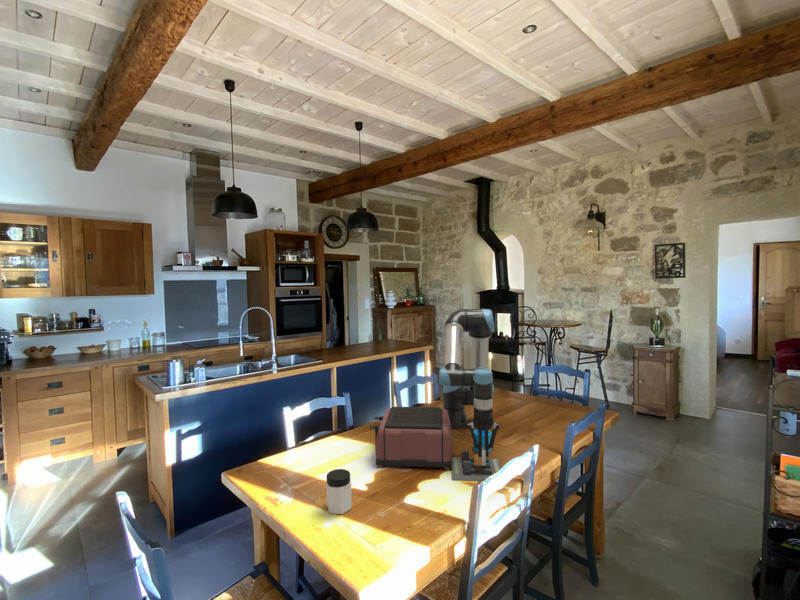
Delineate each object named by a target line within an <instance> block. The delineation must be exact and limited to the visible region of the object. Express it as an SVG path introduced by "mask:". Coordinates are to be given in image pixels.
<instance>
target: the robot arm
mask: <svg viewBox="0 0 800 600" xmlns="http://www.w3.org/2000/svg"><path fill="white" fill-rule="evenodd" d="M494 321H495V320H494V316H493V311H492V310H491V309H488V308H472V309H471V308H463V309H462V308H461V309H460V308H459V309H457V310H455V311H454V312H453V313H451V314H450V315H449V316H448V317H447V319H446V321H445V323H444V326H443V329H444V330H443V332H444V334H445V343H444V344H445V347H444V348H445V349H444V365H443V366H444V367H442V368H439V371H438V379H439V380H438V381H439V385H440V386H443V387H442V388H443V390H442V395H443V396H442V397H443V398H442V399H443V400H442V401H443V402H442V405H443V406H442V407H443V408H442V409H446V410H447V411H448V415H449V419H450V426H451V429H462V428H463V429H464V428H466V427H467V428H468V430H470V431H469V432H470V435H471V439H472V441H473V442H472V444H473V443H474V447H475V448H478V449H479V453H478V455H479V457H482V466H486V458H489V452H488V450H489V449H490V448H491V449H493V448H494V443H495V439H496V435H497V432H498V431H499V429H500V425H499V423H496V422H495V421H494V419H493V417H494V416H493V414H494V413H493V411H494V410H493V406H494V405H493V399H494V390H495V388H494V384H493V381H494V377H493V372H492V370H490V369H489V344H490V343H489V339H490V338H491V337H492V334H493V333H495V331H496V330H495V329H496V328H495V322H494ZM464 332H465V333H468V336H469V337H470V339H471V368H462V336H463V334H464ZM465 406H468V407H469V406H472V407H473V419H472V421H471V422H469V419H468V415H467V412H466V407H465ZM474 427H475V428H476V429H478V444H477V442H476V439H475V435H474ZM491 428H492V431H491V433H492V435H491V439H490V443H489V444H488V430H489V431H490V429H491ZM483 430H484V431H485V447H482V431H483Z"/></svg>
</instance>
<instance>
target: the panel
mask: <svg viewBox="0 0 800 600" xmlns="http://www.w3.org/2000/svg"><path fill="white" fill-rule="evenodd" d="M469 461H471V473H464V472H463V462H462V456H459V457H458V456H457V457H453V456H452V466H451V478H452V479H451V480H452V481H464V482H465V481H466V482H467V481H470V482H471V481H473V482H484V481H483V480H485V479H486V478H487V477H489V476H491V475H492V474H494V473H496V472H497V471H498V470H499V469H502V466H501V464H500V461H499V458H489V457H486V466H482V468H475V467H474V457H469Z"/></svg>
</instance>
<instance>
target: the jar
mask: <svg viewBox="0 0 800 600" xmlns="http://www.w3.org/2000/svg"><path fill="white" fill-rule="evenodd" d="M325 483H326V507H327V510H328V513H329V514H335V515H343V514H345V513H346V512H349V510H351V509H353V508H352V482H351V473H350V471H349V470H348V469H344V468H337V469H333V470H331V471H329V472H328V473H327V474H326V482H325Z"/></svg>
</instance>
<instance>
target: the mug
mask: <svg viewBox="0 0 800 600" xmlns="http://www.w3.org/2000/svg"><path fill="white" fill-rule="evenodd" d="M473 431H474V435H475V439H476V442H477V444H478V429H477V428H476V429H473ZM491 435H492V431H491V430H490V429H489V430H488V444H489V443H490V439H491ZM472 444H473V445H472V446H473V447H472V448H473V451H474V452H475V453H478V454H479V449H478V448H475V447H474V443H473V442H472ZM482 447H485V431H484V430H483V431H482ZM491 452H492V448H490V449H489V450H488V453H491Z"/></svg>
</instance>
